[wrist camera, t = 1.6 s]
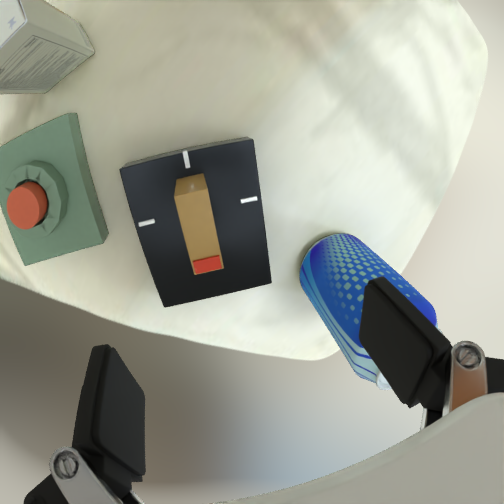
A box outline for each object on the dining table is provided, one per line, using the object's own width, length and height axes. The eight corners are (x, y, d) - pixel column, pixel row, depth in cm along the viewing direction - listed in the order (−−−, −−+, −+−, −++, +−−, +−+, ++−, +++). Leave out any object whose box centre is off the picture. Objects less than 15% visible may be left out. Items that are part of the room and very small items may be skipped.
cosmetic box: (80, 22, 15) (17, -24, 4) (97, 53, 17) (32, 16, 6) (26, 65, 15) (-55, 55, 4) (41, 97, 17) (-44, 101, 7)
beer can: (298, 301, 34) (359, 410, 20) (291, 238, 29) (375, 348, 16) (358, 281, 34) (435, 370, 21) (360, 221, 30) (462, 303, 17)
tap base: (125, 162, 22) (118, 168, 20) (247, 135, 24) (253, 138, 21) (165, 293, 29) (164, 309, 27) (265, 270, 31) (272, 284, 28)
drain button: (11, 189, 17) (1, 195, 16) (40, 175, 18) (31, 180, 16) (24, 226, 19) (15, 234, 17) (53, 215, 19) (44, 223, 18)
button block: (-2, 151, 18) (-24, 159, 14) (76, 112, 19) (58, 113, 16) (33, 256, 24) (17, 275, 20) (109, 233, 25) (98, 252, 21)
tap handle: (176, 179, 22) (173, 197, 17) (203, 172, 22) (207, 189, 17) (192, 245, 25) (194, 277, 20) (216, 239, 25) (224, 270, 20)
